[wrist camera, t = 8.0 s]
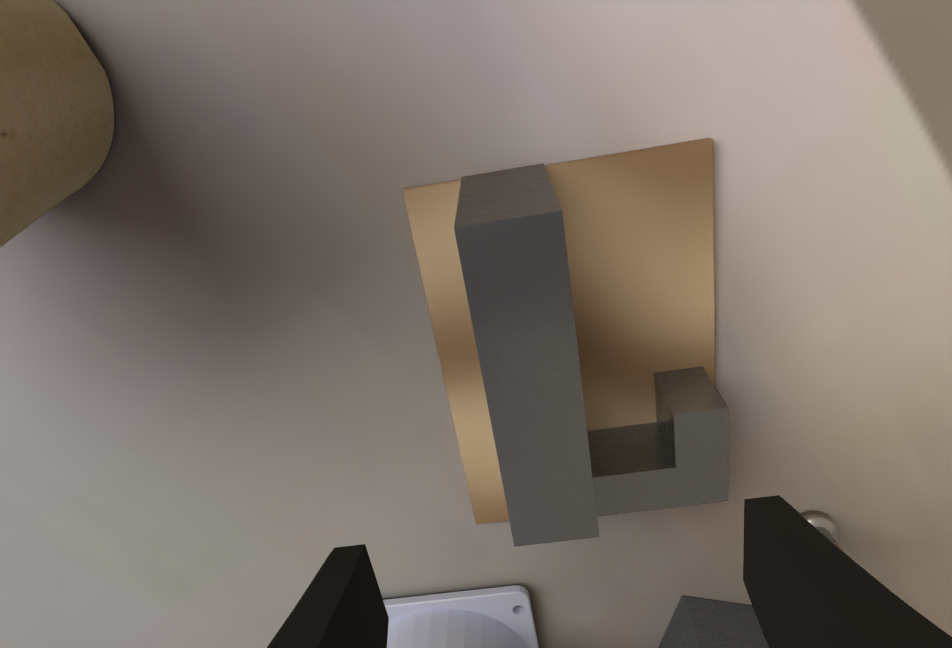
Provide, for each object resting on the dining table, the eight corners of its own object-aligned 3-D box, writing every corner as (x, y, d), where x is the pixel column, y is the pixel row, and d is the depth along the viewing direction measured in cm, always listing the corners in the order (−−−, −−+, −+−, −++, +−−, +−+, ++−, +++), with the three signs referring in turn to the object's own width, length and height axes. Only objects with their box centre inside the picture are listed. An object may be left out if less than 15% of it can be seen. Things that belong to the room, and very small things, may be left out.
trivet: (713, 489, 24) (716, 495, 23) (476, 518, 25) (476, 524, 24) (709, 137, 18) (712, 139, 18) (403, 188, 19) (402, 191, 19)
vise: (727, 497, 24) (764, 569, 21) (907, 525, 24) (969, 600, 21) (653, 659, 28) (674, 741, 25) (809, 681, 28) (849, 764, 25)
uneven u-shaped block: (461, 177, 19) (453, 228, 14) (698, 137, 18) (769, 177, 13) (515, 476, 23) (522, 586, 19) (703, 453, 23) (757, 560, 18)
